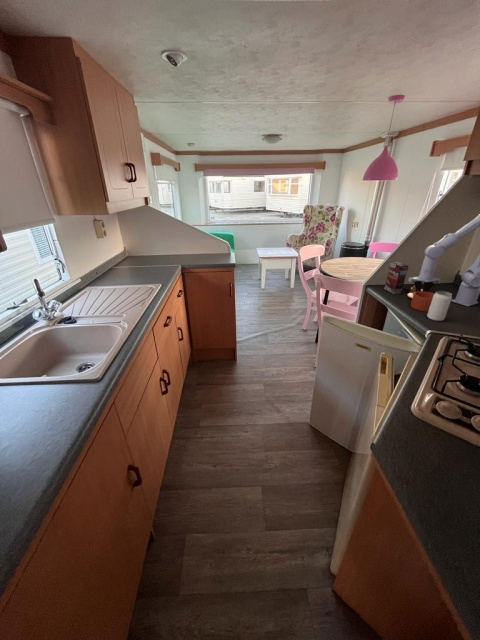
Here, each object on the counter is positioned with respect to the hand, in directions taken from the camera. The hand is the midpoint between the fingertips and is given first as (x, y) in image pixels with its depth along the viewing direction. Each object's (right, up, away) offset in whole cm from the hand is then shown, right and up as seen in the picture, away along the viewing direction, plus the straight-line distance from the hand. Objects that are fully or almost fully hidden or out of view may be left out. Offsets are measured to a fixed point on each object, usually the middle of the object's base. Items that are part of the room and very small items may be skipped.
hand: (419, 295), depth 140 cm
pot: (-5, -7, -10) cm, 13 cm away
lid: (0, -1, 0) cm, 1 cm away
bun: (+4, +3, +10) cm, 11 cm away
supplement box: (-8, +3, +11) cm, 14 cm away
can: (-7, -12, -20) cm, 25 cm away
